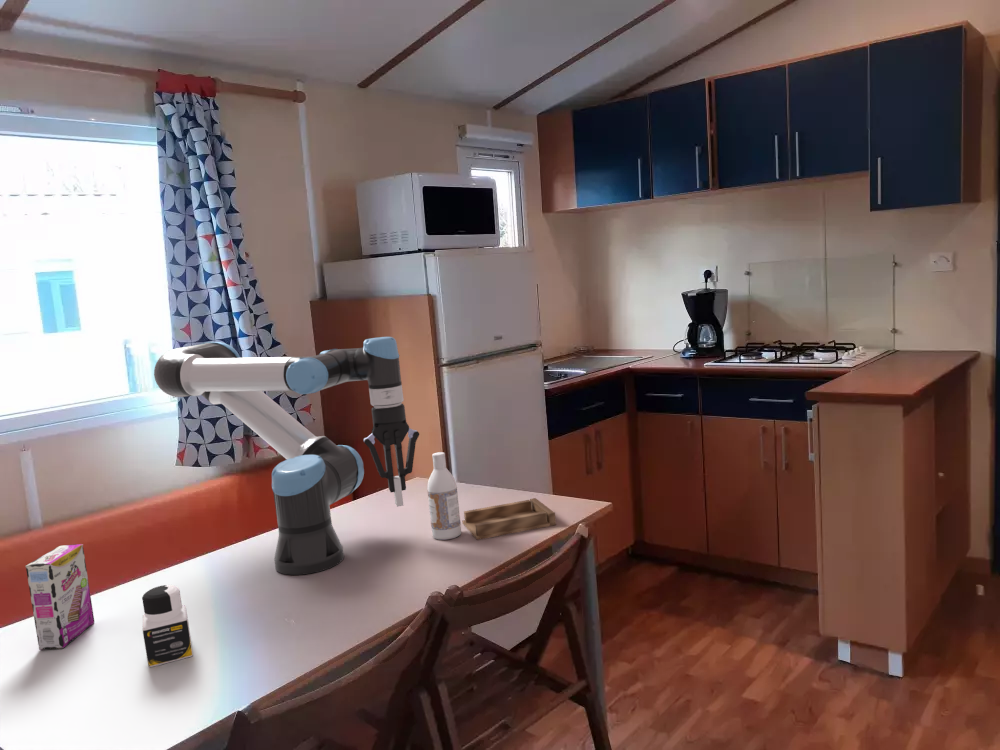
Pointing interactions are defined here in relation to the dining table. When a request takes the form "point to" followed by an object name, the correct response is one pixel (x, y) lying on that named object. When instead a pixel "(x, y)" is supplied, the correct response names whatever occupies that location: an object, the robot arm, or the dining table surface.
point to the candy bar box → (60, 596)
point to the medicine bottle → (165, 626)
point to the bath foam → (443, 501)
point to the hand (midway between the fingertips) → (399, 504)
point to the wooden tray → (508, 518)
